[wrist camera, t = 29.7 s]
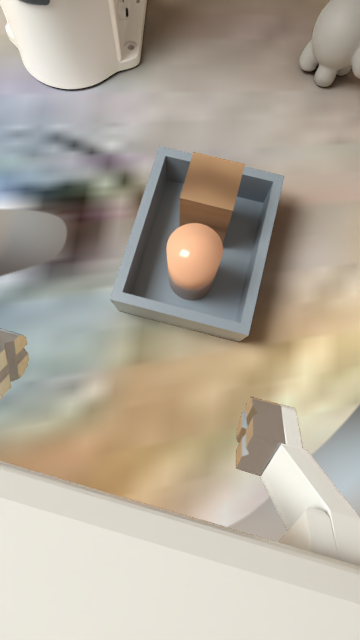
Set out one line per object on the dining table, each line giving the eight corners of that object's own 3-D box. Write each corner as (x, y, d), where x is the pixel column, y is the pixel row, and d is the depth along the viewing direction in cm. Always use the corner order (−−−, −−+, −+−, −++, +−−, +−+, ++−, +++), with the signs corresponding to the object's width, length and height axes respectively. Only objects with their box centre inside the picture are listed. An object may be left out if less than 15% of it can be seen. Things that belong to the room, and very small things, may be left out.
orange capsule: (175, 253, 36) (174, 217, 28) (217, 264, 36) (228, 230, 28) (163, 293, 35) (159, 268, 27) (207, 305, 35) (215, 282, 27)
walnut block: (190, 200, 37) (193, 151, 29) (230, 210, 37) (244, 164, 29) (179, 238, 36) (179, 197, 28) (220, 248, 36) (233, 210, 28)
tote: (161, 175, 39) (159, 146, 34) (270, 202, 38) (284, 175, 34) (118, 310, 35) (109, 299, 31) (238, 342, 35) (248, 335, 30)
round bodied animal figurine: (346, 126, 41) (390, 60, 32) (287, 66, 43) (314, -11, 34) (386, 100, 42) (439, 29, 33) (326, 41, 44) (362, -39, 35)
